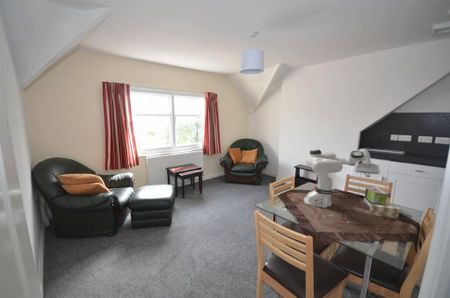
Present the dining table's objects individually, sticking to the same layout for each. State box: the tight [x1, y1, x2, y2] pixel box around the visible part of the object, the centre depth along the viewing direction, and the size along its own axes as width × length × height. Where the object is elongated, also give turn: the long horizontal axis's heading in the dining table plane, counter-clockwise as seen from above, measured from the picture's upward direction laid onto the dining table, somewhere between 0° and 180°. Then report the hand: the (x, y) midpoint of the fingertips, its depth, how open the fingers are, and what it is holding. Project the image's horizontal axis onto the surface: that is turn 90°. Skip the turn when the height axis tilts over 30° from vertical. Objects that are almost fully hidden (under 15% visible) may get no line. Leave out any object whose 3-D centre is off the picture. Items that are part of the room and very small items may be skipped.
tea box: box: [363, 185, 388, 208], centre depth 175 cm, size 15×10×15 cm, turn 168°
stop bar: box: [369, 204, 401, 219], centre depth 159 cm, size 18×3×8 cm, turn 75°
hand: (368, 177), depth 192 cm, fingers closed
